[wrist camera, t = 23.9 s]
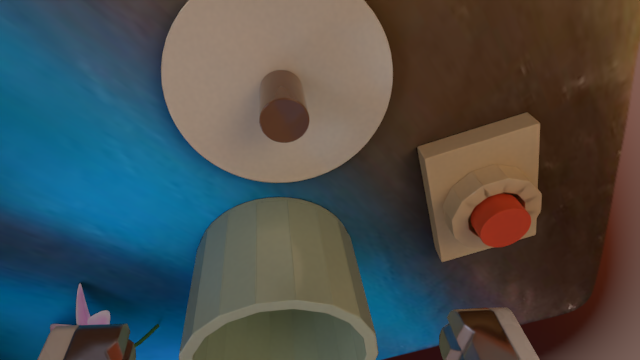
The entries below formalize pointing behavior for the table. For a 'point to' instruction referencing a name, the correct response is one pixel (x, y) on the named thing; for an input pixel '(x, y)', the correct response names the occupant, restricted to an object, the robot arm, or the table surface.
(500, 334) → the robot arm
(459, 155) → the button block
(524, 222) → the button
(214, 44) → the jar lid
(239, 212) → the storage jar
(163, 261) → the table surface
